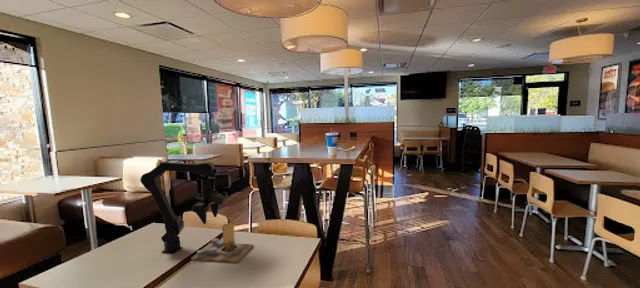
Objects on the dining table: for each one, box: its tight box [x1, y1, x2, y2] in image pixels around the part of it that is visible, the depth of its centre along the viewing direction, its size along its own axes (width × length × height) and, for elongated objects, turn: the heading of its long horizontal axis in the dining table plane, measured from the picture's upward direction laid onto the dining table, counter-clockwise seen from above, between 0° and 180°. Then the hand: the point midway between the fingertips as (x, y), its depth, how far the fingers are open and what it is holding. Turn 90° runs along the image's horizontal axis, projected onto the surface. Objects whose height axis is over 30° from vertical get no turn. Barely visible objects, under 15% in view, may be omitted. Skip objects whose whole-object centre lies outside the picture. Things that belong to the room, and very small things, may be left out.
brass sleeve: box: [221, 223, 236, 252], centre depth 128 cm, size 5×5×12 cm
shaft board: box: [190, 237, 254, 264], centre depth 128 cm, size 22×16×3 cm
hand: (210, 220), depth 135 cm, fingers open, 9 cm apart
